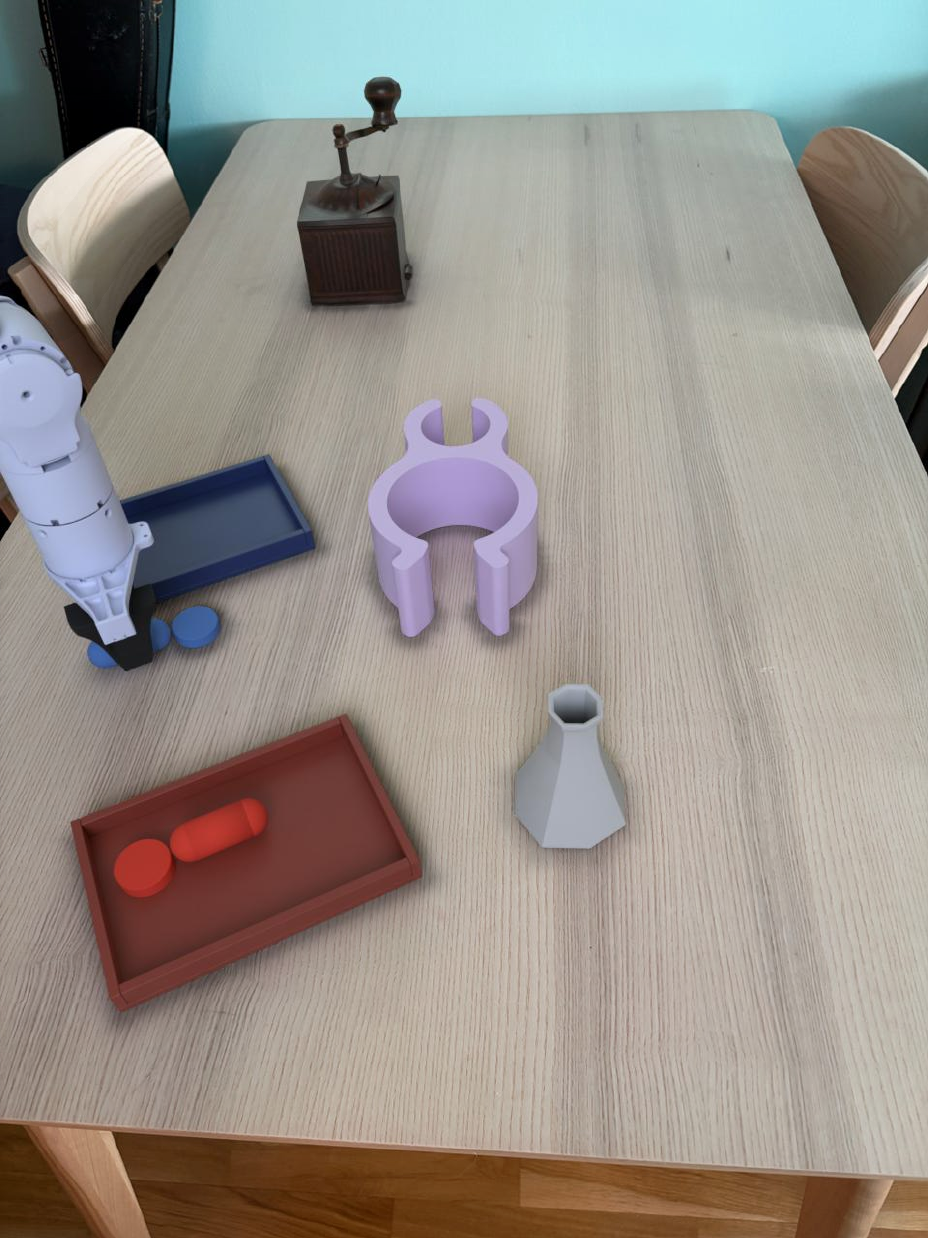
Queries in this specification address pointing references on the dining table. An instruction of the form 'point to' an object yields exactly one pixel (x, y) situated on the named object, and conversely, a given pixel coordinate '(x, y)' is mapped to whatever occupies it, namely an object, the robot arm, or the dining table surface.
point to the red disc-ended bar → (187, 846)
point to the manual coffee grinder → (356, 222)
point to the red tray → (244, 860)
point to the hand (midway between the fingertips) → (130, 640)
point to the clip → (455, 515)
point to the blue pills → (187, 628)
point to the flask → (570, 776)
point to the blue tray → (216, 527)
